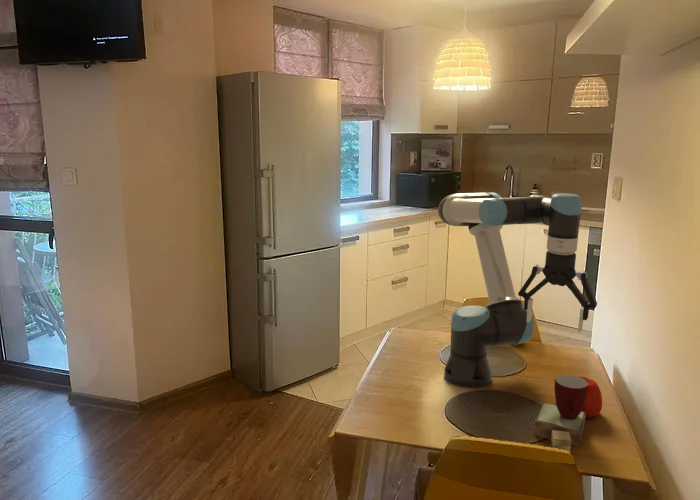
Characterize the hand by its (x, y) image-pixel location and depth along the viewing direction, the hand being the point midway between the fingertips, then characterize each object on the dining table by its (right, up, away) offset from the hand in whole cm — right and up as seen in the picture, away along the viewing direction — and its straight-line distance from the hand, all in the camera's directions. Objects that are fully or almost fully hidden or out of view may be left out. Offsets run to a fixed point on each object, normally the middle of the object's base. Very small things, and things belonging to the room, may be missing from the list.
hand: (553, 325), depth 148 cm
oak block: (-4, -30, -14) cm, 33 cm away
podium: (0, -28, -5) cm, 28 cm away
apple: (+9, -26, +4) cm, 28 cm away
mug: (+2, -24, -7) cm, 25 cm away
